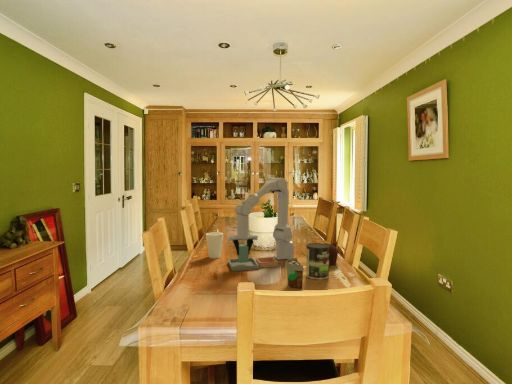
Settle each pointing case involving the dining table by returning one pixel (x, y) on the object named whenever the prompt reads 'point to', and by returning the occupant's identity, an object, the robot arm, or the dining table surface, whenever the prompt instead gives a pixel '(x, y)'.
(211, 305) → the dining table surface
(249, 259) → the slate tray
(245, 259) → the teal block
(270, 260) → the orange square frame
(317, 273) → the coffee can
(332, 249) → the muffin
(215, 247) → the foam cup
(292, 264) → the food container
